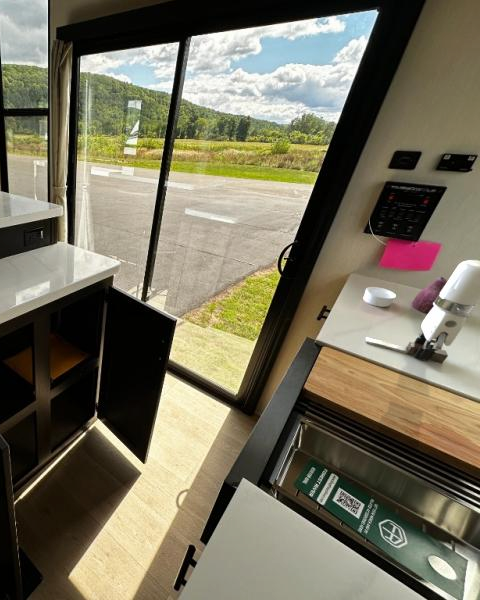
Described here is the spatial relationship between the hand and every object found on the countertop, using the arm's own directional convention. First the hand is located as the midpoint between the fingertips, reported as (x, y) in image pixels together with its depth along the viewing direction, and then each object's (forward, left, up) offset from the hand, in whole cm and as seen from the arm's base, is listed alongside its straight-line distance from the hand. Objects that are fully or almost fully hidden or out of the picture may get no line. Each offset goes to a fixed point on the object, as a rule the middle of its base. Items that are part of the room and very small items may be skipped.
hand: (419, 353), depth 97 cm
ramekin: (+8, -31, -1) cm, 32 cm away
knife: (+4, 0, -1) cm, 4 cm away
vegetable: (-8, -35, -1) cm, 36 cm away
